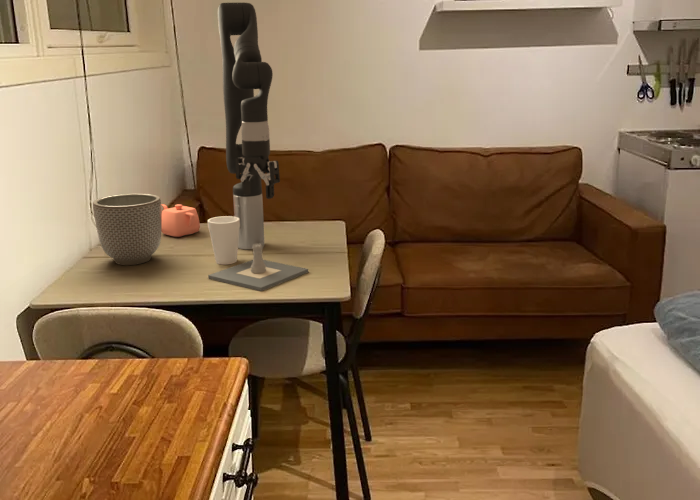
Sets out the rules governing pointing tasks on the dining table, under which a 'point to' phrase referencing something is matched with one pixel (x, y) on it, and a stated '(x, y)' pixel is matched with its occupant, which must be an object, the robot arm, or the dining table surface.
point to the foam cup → (224, 238)
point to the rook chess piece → (258, 259)
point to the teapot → (179, 220)
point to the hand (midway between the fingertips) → (258, 196)
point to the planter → (129, 226)
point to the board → (258, 275)
